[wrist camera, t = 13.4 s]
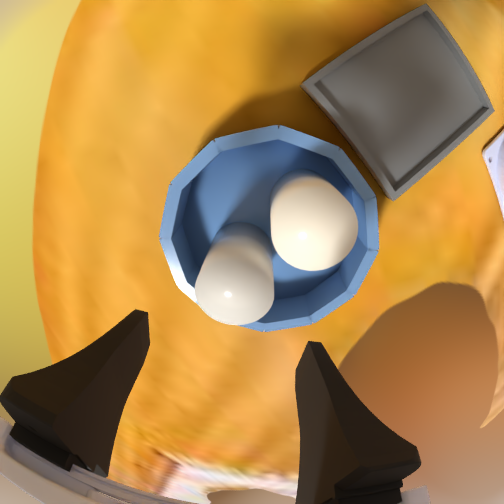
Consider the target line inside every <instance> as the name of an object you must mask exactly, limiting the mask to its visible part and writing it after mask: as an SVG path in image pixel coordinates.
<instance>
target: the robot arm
mask: <svg viewBox="0 0 504 504" xmlns="http://www.w3.org/2000/svg"><path fill="white" fill-rule="evenodd" d="M482 155H483V158H484V161H485V163H486V166H487V168H488V171H489V174H490V177H491V179H492V182H493V185H494V188H495V191H496V194H497V198H498V201H499V204H500V208H501V211H502V215H503V219H504V129H503V130H502V131H501V132H500V133H499V134H498V135H497V136H496V138H495V139H494V140H493V141H492V142H491V143H490V144H489V145H488V146H487V147H486V148H485V149H484V150H483V153H482ZM149 346H150V338H149V322H148V312H144V311H140V310H136V309H135V310H134V311H133V312H131V313H130V314H129V315H128V316H126V317H125V318H124V319H123V320H122V321H120V322H119V323H118V324H117V325H116V326H114V327H113V328H112V329H110V330H109V331H108V332H107V333H105V334H104V335H103V336H101V337H100V338H99V339H97V340H96V341H94V342H93V343H92V344H90V345H89V346H87V347H86V348H84V349H82V350H81V351H79V352H77V353H76V354H74V355H72V356H70V357H68V358H66V359H64V360H62V361H60V362H58V363H56V364H53V365H51V366H48V367H46V368H43V369H40V370H37V371H34V372H31V373H27V374H23V375H18V376H14V377H12V378H11V380H10V381H9V383H8V384H7V386H6V387H5V389H4V390H3V392H2V393H1V395H0V402H1V404H2V406H3V407H4V408H5V410H6V411H7V412H8V413H9V415H10V416H11V417H12V418H13V419H14V420H15V422H16V423H15V424H14V426H12V425H11V424H10V423H9V422H7V421H6V420H5V419H3V418H2V417H0V474H1V475H3V476H4V477H5V478H7V479H8V480H9V481H10V482H12V483H13V484H14V485H16V486H17V487H19V488H20V489H21V490H23V491H24V492H26V493H27V494H29V495H30V496H32V497H33V498H35V499H37V500H38V501H39V502H41V503H43V504H124V503H122V502H119V501H117V500H115V499H112V498H110V497H108V496H111V497H114V498H117V499H119V500H122V501H125V502H128V503H131V504H197V503H191V502H186V501H181V500H176V499H172V498H168V497H164V496H160V495H156V494H152V493H149V492H145V491H142V490H138V489H135V488H132V487H129V486H126V485H123V484H120V483H117V482H115V481H112V480H109V479H107V478H106V477H108V472H109V466H110V460H111V454H112V450H113V445H114V441H115V437H116V433H117V429H118V425H119V422H120V418H121V415H122V412H123V409H124V406H125V403H126V401H127V398H128V396H129V394H130V392H131V389H132V387H133V385H134V383H135V381H136V379H137V377H138V375H139V372H140V370H141V368H142V366H143V364H144V361H145V358H146V355H147V352H148V349H149ZM295 391H296V400H297V409H298V418H299V426H300V464H299V478H298V488H297V496H296V503H295V504H431V502H430V498H429V493H428V489H427V486H426V485H424V486H420V487H417V488H414V489H410V490H407V491H404V492H402V493H401V492H400V488H401V487H403V483H402V479H404V478H405V477H407V476H409V475H410V474H412V473H413V472H415V471H416V470H417V469H418V468H419V467H420V466H421V460H420V456H419V453H418V450H417V447H416V446H414V445H413V444H411V443H409V442H408V441H406V440H405V439H403V438H402V437H400V436H399V435H397V434H396V433H395V432H393V431H392V430H391V429H389V428H388V427H387V426H386V425H385V424H383V423H382V422H381V421H380V420H379V419H378V418H377V417H376V416H375V415H374V414H372V412H370V410H369V409H368V408H367V407H366V406H365V405H364V404H363V403H362V402H361V401H360V400H359V398H358V397H357V396H356V395H355V393H354V392H353V391H352V389H351V388H350V387H349V385H348V384H347V383H346V381H345V380H344V378H343V377H342V375H341V374H340V372H339V371H338V369H337V368H336V366H335V364H334V363H333V361H332V360H331V358H330V356H329V355H328V353H327V351H326V350H325V348H324V346H323V345H322V343H321V342H312V341H308V343H307V345H306V348H305V350H304V352H303V355H302V357H301V359H300V361H299V364H298V366H297V368H296V375H295ZM99 492H101V493H103V494H106V495H108V496H105V495H103V494H101V493H99Z"/></svg>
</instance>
